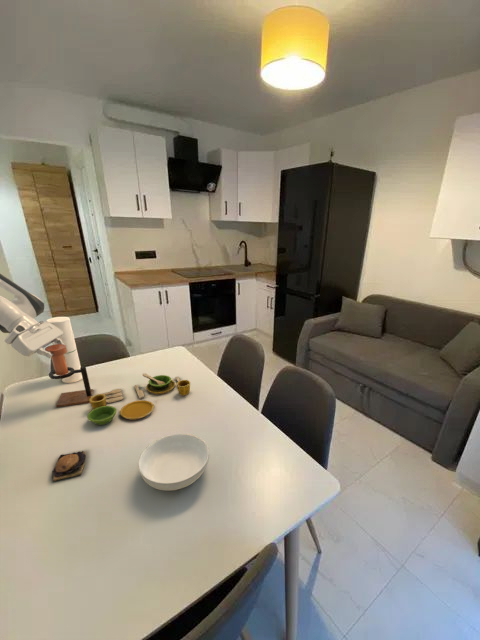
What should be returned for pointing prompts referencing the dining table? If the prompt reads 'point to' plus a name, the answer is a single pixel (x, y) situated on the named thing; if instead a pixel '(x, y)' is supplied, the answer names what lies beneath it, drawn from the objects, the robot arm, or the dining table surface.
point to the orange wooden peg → (58, 358)
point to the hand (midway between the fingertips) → (58, 352)
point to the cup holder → (75, 396)
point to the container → (68, 347)
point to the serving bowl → (173, 461)
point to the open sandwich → (69, 465)
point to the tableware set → (137, 408)
